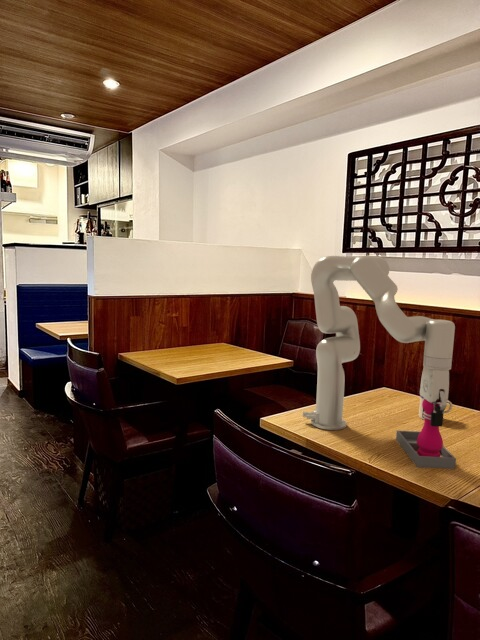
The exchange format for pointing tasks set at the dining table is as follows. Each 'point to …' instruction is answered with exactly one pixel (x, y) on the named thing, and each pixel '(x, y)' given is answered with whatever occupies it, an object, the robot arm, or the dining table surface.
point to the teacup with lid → (422, 407)
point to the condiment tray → (411, 448)
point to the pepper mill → (429, 434)
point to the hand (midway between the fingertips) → (432, 421)
